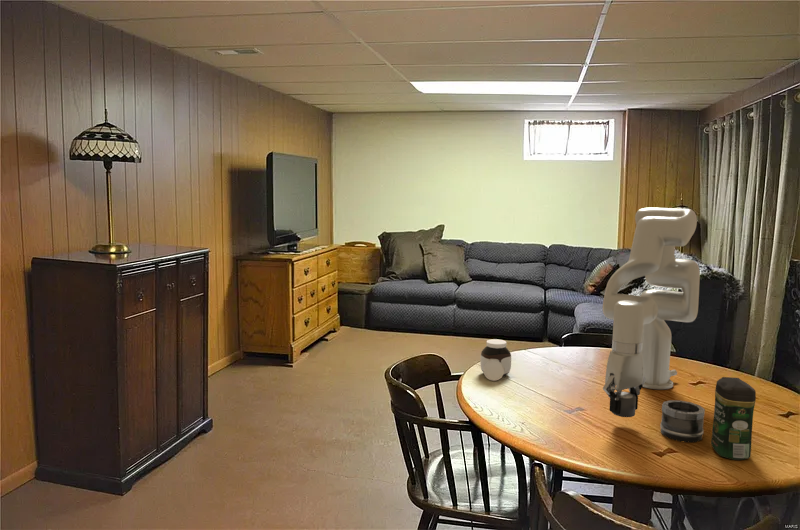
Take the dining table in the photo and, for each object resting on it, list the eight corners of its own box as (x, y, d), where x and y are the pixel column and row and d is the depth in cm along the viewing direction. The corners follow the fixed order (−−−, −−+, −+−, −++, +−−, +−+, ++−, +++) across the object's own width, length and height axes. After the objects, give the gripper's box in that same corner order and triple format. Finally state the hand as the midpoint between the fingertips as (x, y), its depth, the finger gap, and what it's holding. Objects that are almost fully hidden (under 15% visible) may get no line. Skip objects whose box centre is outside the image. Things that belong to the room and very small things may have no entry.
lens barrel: (677, 424, 170) (679, 397, 169) (711, 438, 161) (714, 410, 160) (651, 431, 165) (653, 403, 164) (685, 445, 156) (687, 417, 155)
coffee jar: (706, 443, 157) (712, 373, 155) (739, 445, 156) (745, 375, 154) (719, 460, 148) (725, 386, 145) (754, 463, 147) (762, 388, 144)
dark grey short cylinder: (622, 406, 172) (623, 389, 171) (639, 414, 167) (640, 396, 166) (606, 411, 169) (607, 393, 168) (624, 418, 164) (625, 400, 163)
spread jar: (502, 369, 217) (503, 337, 216) (519, 379, 207) (520, 346, 205) (472, 373, 213) (473, 340, 212) (487, 383, 203) (488, 349, 201)
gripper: (637, 338, 172) (634, 399, 175) (593, 347, 164) (590, 411, 167) (660, 345, 166) (656, 408, 169) (615, 355, 157) (611, 421, 160)
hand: (623, 409), depth 168 cm, fingers closed on dark grey short cylinder, 6 cm apart
